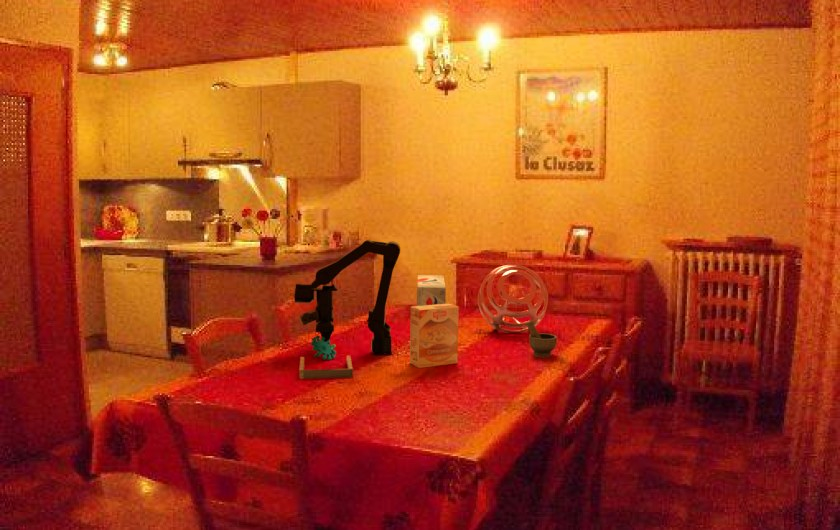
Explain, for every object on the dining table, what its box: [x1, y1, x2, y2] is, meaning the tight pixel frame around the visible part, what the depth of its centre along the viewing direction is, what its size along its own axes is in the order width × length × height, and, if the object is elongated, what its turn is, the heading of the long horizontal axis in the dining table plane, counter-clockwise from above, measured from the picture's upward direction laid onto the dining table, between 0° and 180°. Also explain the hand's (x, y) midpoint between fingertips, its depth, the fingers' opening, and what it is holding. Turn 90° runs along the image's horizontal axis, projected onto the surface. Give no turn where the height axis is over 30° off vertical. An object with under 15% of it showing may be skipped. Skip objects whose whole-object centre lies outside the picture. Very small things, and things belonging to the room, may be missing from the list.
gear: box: [310, 335, 337, 361], centre depth 256 cm, size 11×6×10 cm
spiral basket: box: [477, 264, 549, 334], centre depth 301 cm, size 28×28×27 cm
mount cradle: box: [298, 355, 354, 380], centre depth 240 cm, size 16×17×2 cm
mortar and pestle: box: [526, 320, 558, 359], centre depth 262 cm, size 11×9×12 cm
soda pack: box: [416, 274, 447, 306], centre depth 345 cm, size 41×13×14 cm, turn 0°
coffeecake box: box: [409, 303, 460, 369], centre depth 249 cm, size 15×7×20 cm, turn 118°
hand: (325, 346), depth 263 cm, fingers closed
